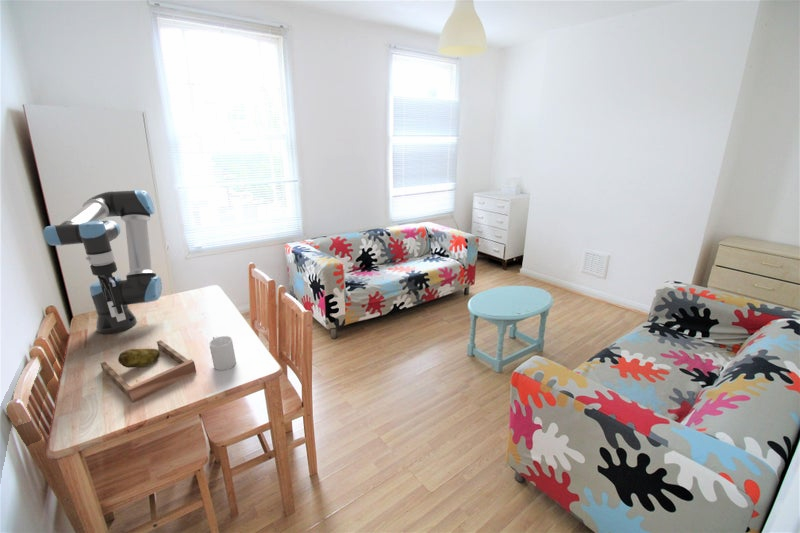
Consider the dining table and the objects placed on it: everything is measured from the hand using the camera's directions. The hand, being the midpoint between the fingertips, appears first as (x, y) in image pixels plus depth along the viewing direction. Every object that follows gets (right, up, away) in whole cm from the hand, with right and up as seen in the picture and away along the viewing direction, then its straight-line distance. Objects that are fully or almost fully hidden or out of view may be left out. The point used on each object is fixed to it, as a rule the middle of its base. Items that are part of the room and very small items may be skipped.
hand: (118, 318), depth 146 cm
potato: (+11, -19, -2) cm, 21 cm away
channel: (+15, -20, -5) cm, 25 cm away
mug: (+42, -18, 0) cm, 45 cm away
